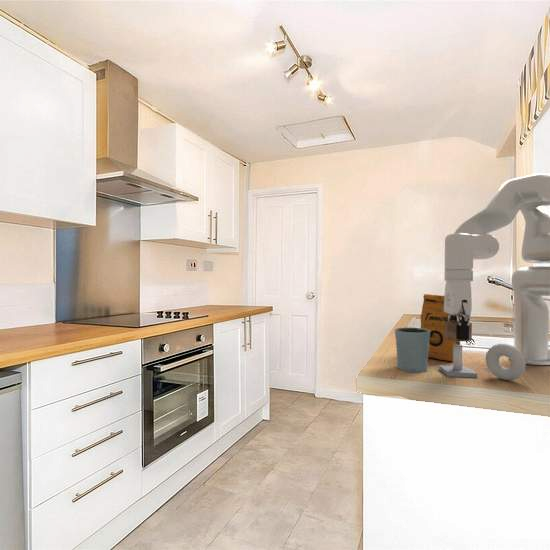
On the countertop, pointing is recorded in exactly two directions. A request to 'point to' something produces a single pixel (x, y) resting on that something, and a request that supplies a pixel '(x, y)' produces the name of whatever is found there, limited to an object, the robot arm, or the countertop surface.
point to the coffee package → (436, 328)
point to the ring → (451, 331)
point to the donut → (515, 358)
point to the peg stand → (457, 365)
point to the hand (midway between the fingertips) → (457, 336)
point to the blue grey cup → (412, 349)
